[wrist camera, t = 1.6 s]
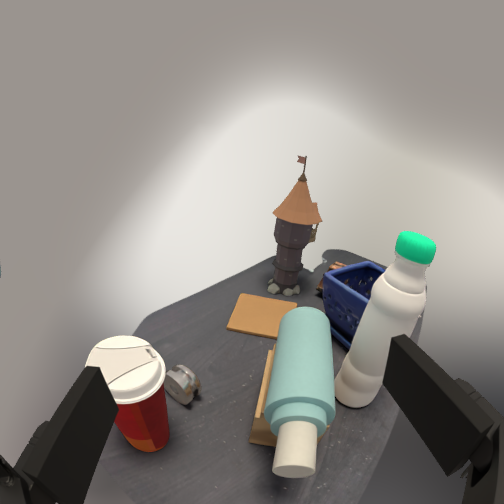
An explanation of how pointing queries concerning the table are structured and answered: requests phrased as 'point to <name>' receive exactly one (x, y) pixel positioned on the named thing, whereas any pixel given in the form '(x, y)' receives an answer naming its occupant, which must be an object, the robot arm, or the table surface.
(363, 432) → the table surface
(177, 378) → the metal grooved wheel
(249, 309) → the cork mat
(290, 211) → the model tower
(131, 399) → the paper cup
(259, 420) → the birch block
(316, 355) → the plastic bottle
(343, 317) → the flower pot
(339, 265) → the toy car
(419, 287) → the water bottle
